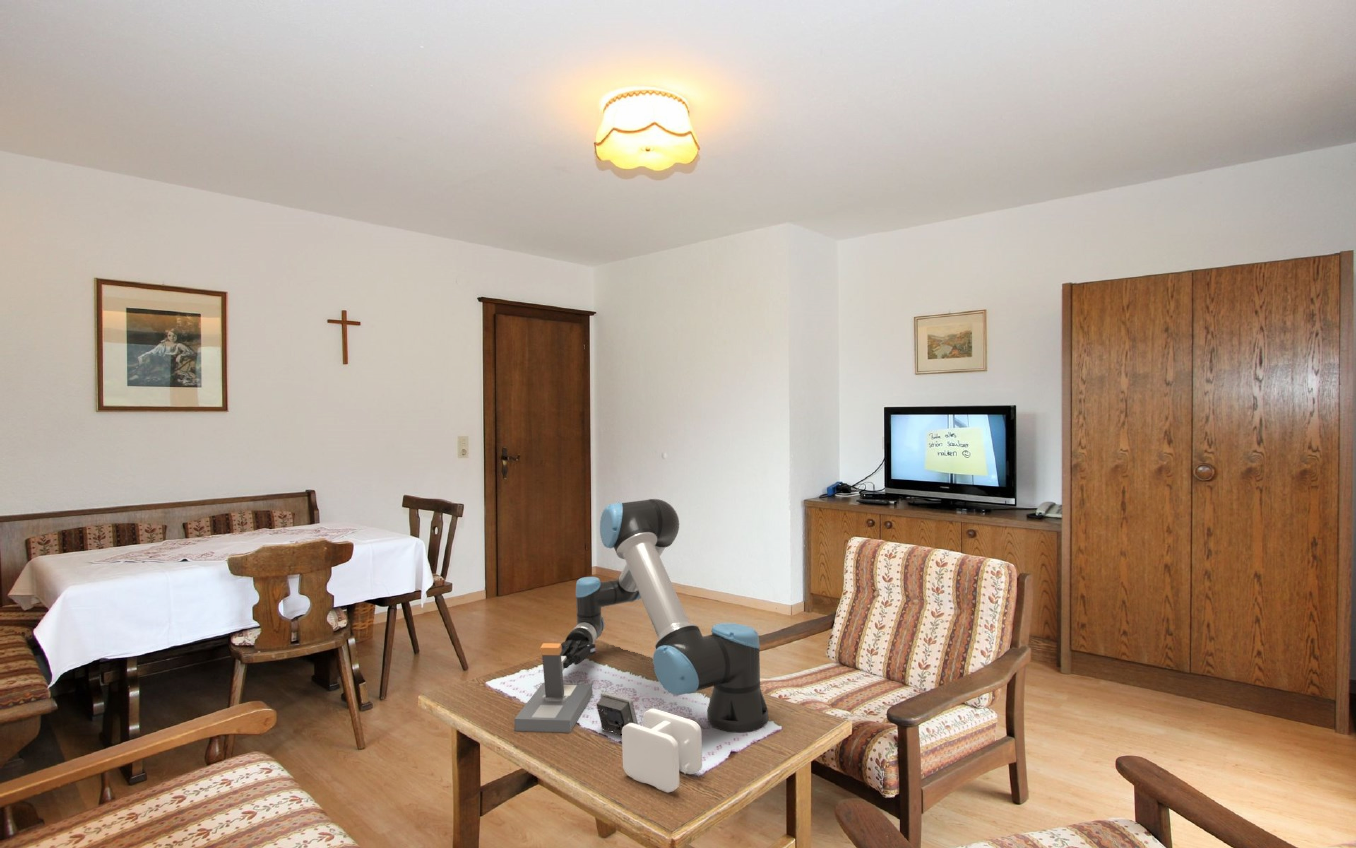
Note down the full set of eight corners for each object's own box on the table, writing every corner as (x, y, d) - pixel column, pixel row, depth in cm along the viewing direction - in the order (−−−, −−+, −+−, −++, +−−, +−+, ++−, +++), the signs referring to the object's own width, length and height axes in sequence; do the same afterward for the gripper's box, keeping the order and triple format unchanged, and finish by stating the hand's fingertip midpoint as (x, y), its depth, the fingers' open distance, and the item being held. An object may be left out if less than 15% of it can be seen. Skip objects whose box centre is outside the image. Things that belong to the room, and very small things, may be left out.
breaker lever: (562, 698, 180) (558, 648, 178) (544, 698, 181) (540, 647, 178) (565, 693, 183) (561, 643, 180) (547, 693, 183) (543, 643, 181)
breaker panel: (570, 732, 170) (569, 716, 170) (514, 731, 172) (514, 714, 172) (592, 694, 192) (592, 680, 192) (543, 693, 194) (542, 679, 194)
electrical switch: (640, 731, 170) (636, 695, 169) (627, 742, 166) (623, 705, 164) (609, 723, 175) (606, 688, 174) (596, 733, 171) (592, 697, 170)
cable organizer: (619, 776, 150) (617, 722, 150) (650, 755, 158) (649, 704, 158) (675, 798, 141) (673, 741, 141) (705, 775, 149) (703, 721, 149)
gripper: (602, 652, 207) (581, 684, 184) (560, 651, 209) (533, 683, 185) (601, 627, 207) (580, 656, 184) (559, 626, 209) (532, 655, 185)
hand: (556, 670), depth 185 cm, fingers closed
